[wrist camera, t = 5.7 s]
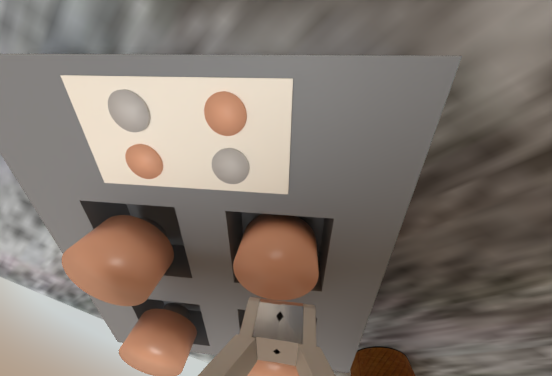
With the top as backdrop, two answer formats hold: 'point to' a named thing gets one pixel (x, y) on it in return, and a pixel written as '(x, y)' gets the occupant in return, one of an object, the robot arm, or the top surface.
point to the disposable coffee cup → (380, 363)
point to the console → (228, 166)
